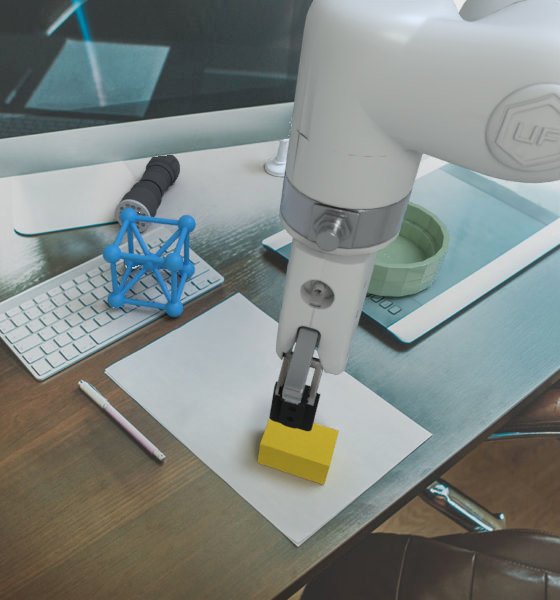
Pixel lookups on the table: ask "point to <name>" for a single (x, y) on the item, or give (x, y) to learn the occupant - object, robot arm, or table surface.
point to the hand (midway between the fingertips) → (305, 376)
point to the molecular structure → (151, 261)
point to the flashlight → (150, 189)
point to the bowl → (411, 255)
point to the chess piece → (278, 161)
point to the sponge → (298, 450)
